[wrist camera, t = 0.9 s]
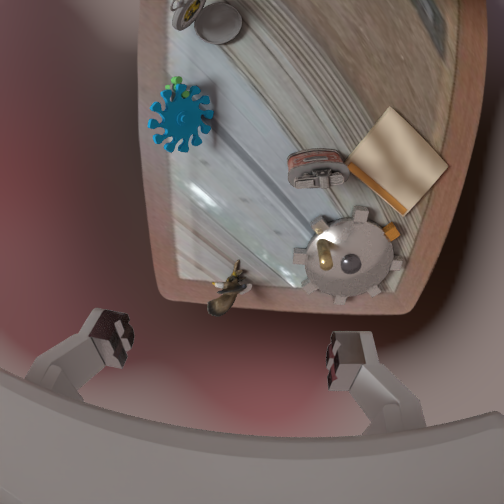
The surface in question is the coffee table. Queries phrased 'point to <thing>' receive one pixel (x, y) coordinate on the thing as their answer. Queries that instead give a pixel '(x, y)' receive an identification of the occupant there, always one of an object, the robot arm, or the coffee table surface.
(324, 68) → the coffee table surface
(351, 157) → the pad
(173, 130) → the gear
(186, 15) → the pocket watch
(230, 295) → the eagle figurine
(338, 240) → the sprocket
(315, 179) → the lighter
